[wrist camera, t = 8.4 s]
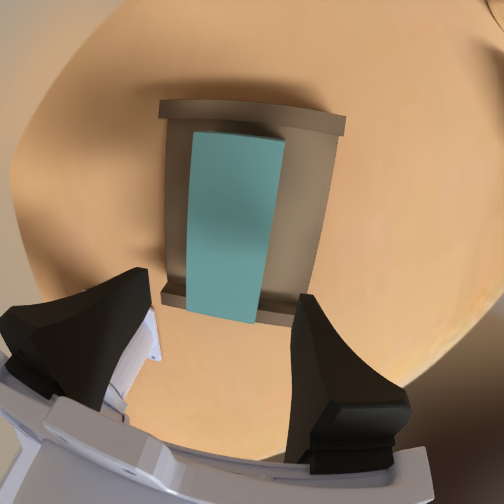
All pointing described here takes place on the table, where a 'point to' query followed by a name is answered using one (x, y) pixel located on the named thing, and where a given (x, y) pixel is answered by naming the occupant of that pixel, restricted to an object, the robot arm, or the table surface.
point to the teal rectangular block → (230, 221)
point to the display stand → (287, 200)
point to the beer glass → (497, 11)
